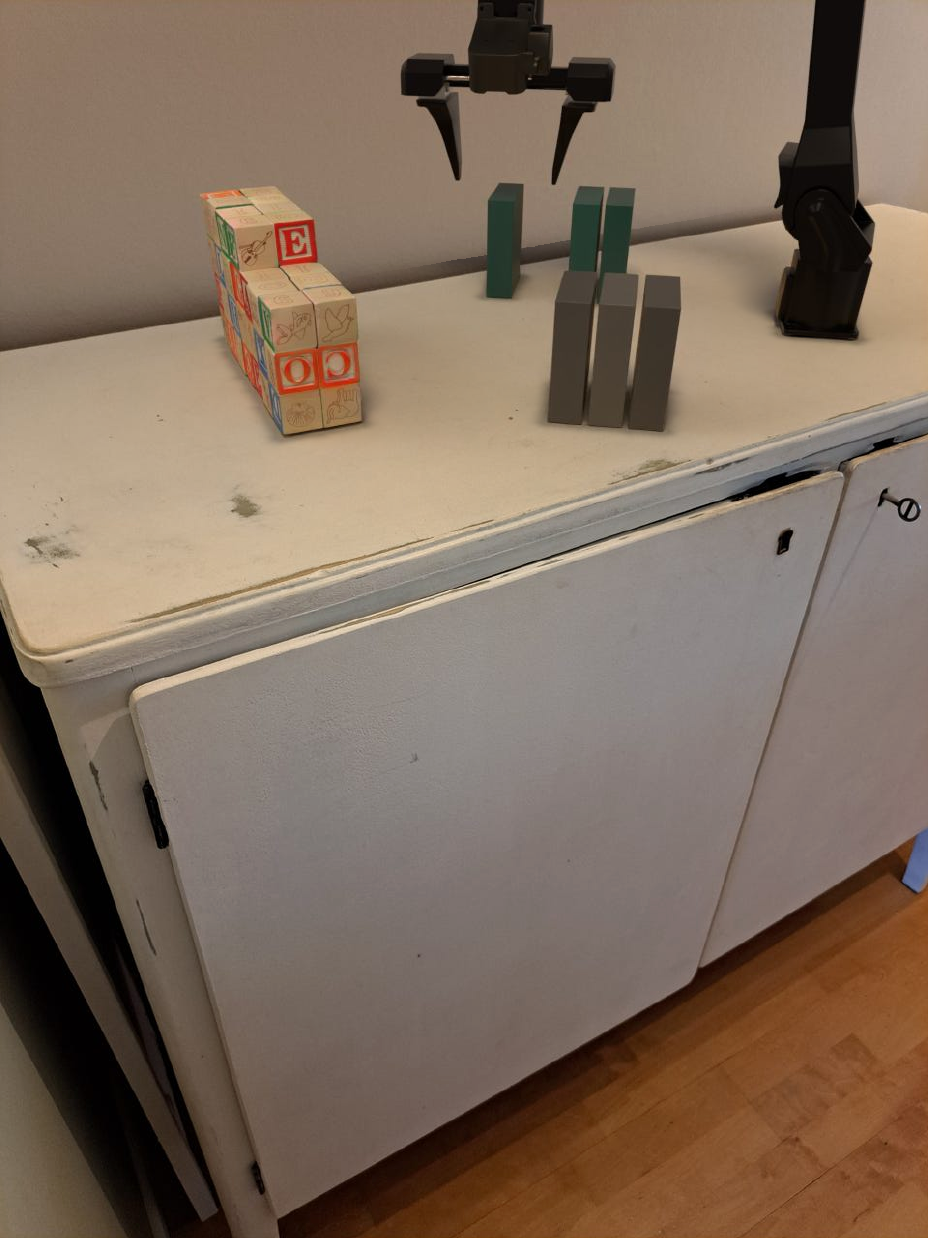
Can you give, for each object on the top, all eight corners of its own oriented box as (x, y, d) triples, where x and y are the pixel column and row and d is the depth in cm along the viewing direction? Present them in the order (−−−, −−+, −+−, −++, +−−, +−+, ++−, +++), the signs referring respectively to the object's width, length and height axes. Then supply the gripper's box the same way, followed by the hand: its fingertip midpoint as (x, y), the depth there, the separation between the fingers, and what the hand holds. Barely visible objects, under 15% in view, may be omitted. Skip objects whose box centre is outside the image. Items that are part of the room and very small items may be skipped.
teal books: (625, 282, 93) (635, 187, 87) (622, 305, 88) (633, 205, 82) (572, 279, 94) (578, 185, 88) (566, 301, 88) (572, 203, 83)
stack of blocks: (365, 423, 67) (353, 250, 59) (282, 438, 65) (259, 262, 57) (291, 328, 82) (274, 182, 75) (223, 338, 81) (198, 189, 73)
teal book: (520, 276, 94) (523, 183, 89) (511, 298, 89) (514, 200, 84) (496, 275, 95) (498, 182, 89) (486, 296, 89) (487, 199, 84)
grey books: (663, 392, 71) (680, 276, 66) (663, 431, 66) (681, 308, 61) (556, 384, 73) (564, 269, 67) (547, 422, 67) (554, 300, 62)
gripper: (381, -15, 71) (390, 197, 81) (618, -11, 69) (598, 207, 79) (412, -22, 80) (417, 170, 90) (623, -19, 78) (605, 178, 87)
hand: (505, 181), depth 86 cm, fingers open, 9 cm apart
